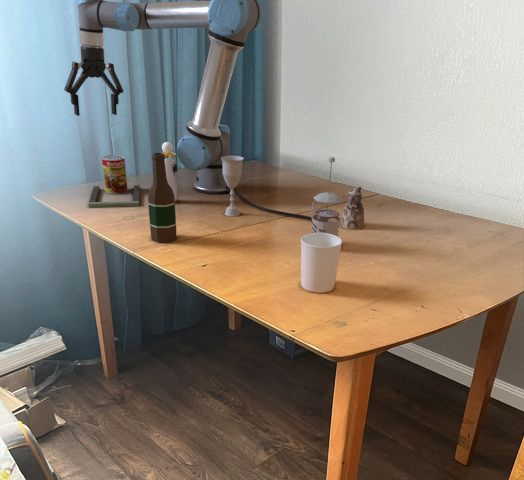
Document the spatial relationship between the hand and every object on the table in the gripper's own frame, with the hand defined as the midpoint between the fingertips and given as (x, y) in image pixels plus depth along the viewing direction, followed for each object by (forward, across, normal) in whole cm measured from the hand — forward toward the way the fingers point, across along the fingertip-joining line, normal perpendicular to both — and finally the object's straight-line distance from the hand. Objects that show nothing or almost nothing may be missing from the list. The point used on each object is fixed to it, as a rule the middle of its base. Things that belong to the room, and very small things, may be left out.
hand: (96, 114), depth 194 cm
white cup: (+18, -9, +113) cm, 114 cm away
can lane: (+24, +2, +17) cm, 30 cm away
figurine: (+18, -49, +84) cm, 99 cm away
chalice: (+21, -23, +54) cm, 63 cm away
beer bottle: (+22, +7, +63) cm, 67 cm away
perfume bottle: (+23, -12, +32) cm, 41 cm away
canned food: (+25, -2, +10) cm, 27 cm away
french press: (+18, -30, +92) cm, 98 cm away
